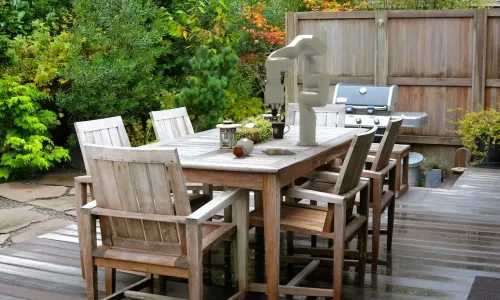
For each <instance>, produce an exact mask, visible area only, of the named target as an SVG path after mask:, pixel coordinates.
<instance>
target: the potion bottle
mask: <svg viewBox="0 0 500 300" xmlns="http://www.w3.org/2000/svg"><path fill="white" fill-rule="evenodd" d="M234 145H235V146H234V147H233V148H234V149H233V151H232V155H234V156H235V157H236V158H237V159H239V158H242V157H248V156H250V155H251V154H253V151H254V148H255V147H254V143H253V141H252V140H251V139H249V138H247V137H242V138H240V139H239V140H237V142H236V144H234Z"/></svg>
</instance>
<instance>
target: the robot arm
mask: <svg viewBox="0 0 500 300" xmlns="http://www.w3.org/2000/svg"><path fill="white" fill-rule="evenodd" d="M327 52H328V45H327V42H326V41H325V40H323V39H322V38H320V37H318V36H317V35H314V34H299V35H296V36H295V37H294V38H293V39H292V40H291V41H290V42H289V43H288V44H287V45H286V46H284V47H282V48H278V49H277V50H275V51H273V52H272V53H271V54H270V55H268V56H267V58H266V60H265V63H264V68H265V70H266V72H265V74H266V75H265V76H266V79H265V80H264V79H263V83H265V87H264V95H263V96H264V98H263V101H264V104H263V105H264V106H266V107H269V108H270V109H271V111H270V112H271V113H270V114H271V117H273V118H274V117H278V109H279V108H280V107H281V106H283V105H285V90H284V85H283V83H282V82H281V81H282V79H281V78H282V77H281V74H282V73H281V72H288V71H290V69H291V68H292V61H293V60H295V59H297V58H299V56H301V58H302V61H303V72H302V73H303V74H302V80H301V81H302V86H303V88H305V89H315V90H302V91H300V92H299V93H298V95H297V102H298V108H299V109H298V110H299V112H298V114H299V120H298V121H299V124H298V125H299V131H298V132H299V133H298V134H299V135H298V136H299V140H298V141H297V142H296V145H297V146H304V147H311V146H312V147H313V146H314V147H315V146H318V145H319V142H317V139H316V138H317V137H316V135H317V133H316V132H317V130H316V129H317V122H316V119H317V116H316V115H317V114H316V112H315V110H314V108H325V107H326V106H327V104H328V100H329V99H328V98H329V92H330V83H331V81H330V80H331V79H330V76H329V74H328V73H327V72H325V71H320V72H319V67H320V66H319V65H320V64H319V61H318V60H317V58H316V57H315V56H317V57H318V56H319V57H320V56H324V55H326V54H327ZM316 89H317V90H316Z"/></svg>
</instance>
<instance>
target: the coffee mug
mask: <svg viewBox="0 0 500 300" xmlns="http://www.w3.org/2000/svg"><path fill="white" fill-rule="evenodd" d="M270 124H272V125H271V129H272V128H273V134H272V139H273V138H274V140H283V139H284V135H285V134H287V133H288V132H289V131H290V129H291V127H290V125H288V124H286V122H282V121H274V122H271V123H270ZM286 127H288V130H287V131H285V128H286Z"/></svg>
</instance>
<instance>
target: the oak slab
mask: <svg viewBox="0 0 500 300" xmlns="http://www.w3.org/2000/svg"><path fill="white" fill-rule="evenodd" d="M266 150H267V153H269V154H283V150H284V149H282V148H280V147H279V148H266Z"/></svg>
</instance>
